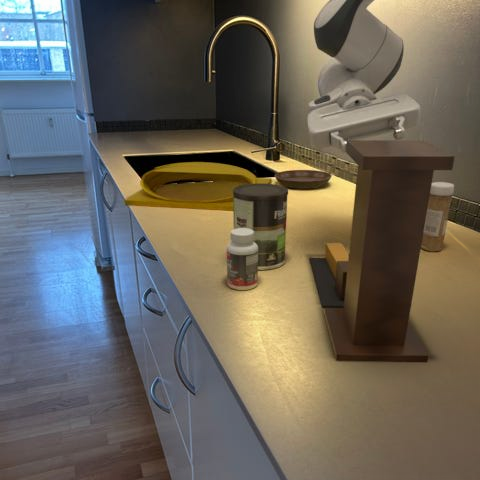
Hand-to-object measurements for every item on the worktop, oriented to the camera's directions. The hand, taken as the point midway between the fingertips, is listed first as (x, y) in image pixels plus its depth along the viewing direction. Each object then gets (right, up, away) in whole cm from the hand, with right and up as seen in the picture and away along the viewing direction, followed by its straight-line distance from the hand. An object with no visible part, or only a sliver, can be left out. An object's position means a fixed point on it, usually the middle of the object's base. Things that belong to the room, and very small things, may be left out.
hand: (373, 141), depth 89 cm
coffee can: (-19, -19, +12) cm, 30 cm away
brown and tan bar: (-5, -23, +3) cm, 24 cm away
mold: (-34, +6, +62) cm, 71 cm away
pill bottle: (-23, -25, +1) cm, 34 cm away
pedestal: (-4, -33, -15) cm, 37 cm away
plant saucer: (-4, +12, +72) cm, 73 cm away
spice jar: (+17, -16, +18) cm, 30 cm away
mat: (-4, -24, +3) cm, 25 cm away
